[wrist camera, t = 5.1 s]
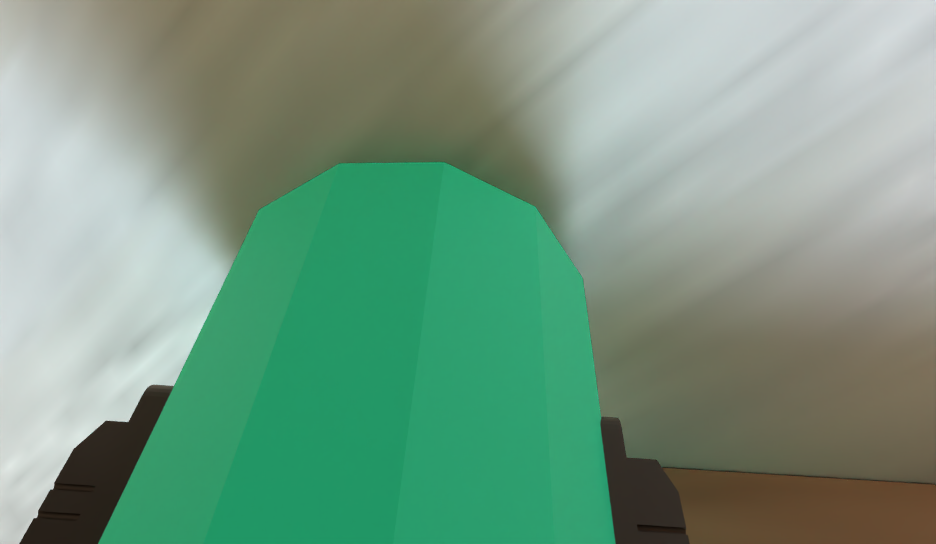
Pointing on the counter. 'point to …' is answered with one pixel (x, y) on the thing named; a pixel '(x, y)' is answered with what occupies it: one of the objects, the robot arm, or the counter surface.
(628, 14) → the counter surface
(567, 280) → the candle
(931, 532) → the walnut stand
